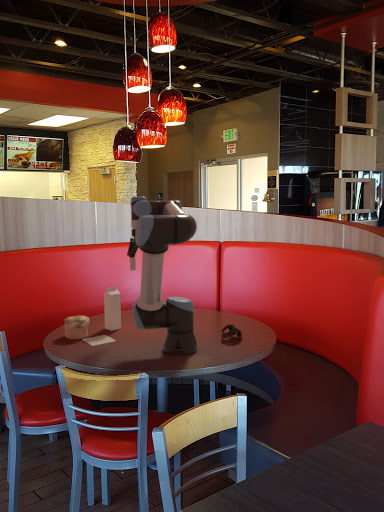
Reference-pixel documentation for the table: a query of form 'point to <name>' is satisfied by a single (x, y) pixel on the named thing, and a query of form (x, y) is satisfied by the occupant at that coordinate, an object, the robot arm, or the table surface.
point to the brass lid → (76, 322)
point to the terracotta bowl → (76, 333)
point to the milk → (112, 309)
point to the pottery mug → (231, 331)
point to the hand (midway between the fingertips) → (140, 271)
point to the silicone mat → (99, 340)
